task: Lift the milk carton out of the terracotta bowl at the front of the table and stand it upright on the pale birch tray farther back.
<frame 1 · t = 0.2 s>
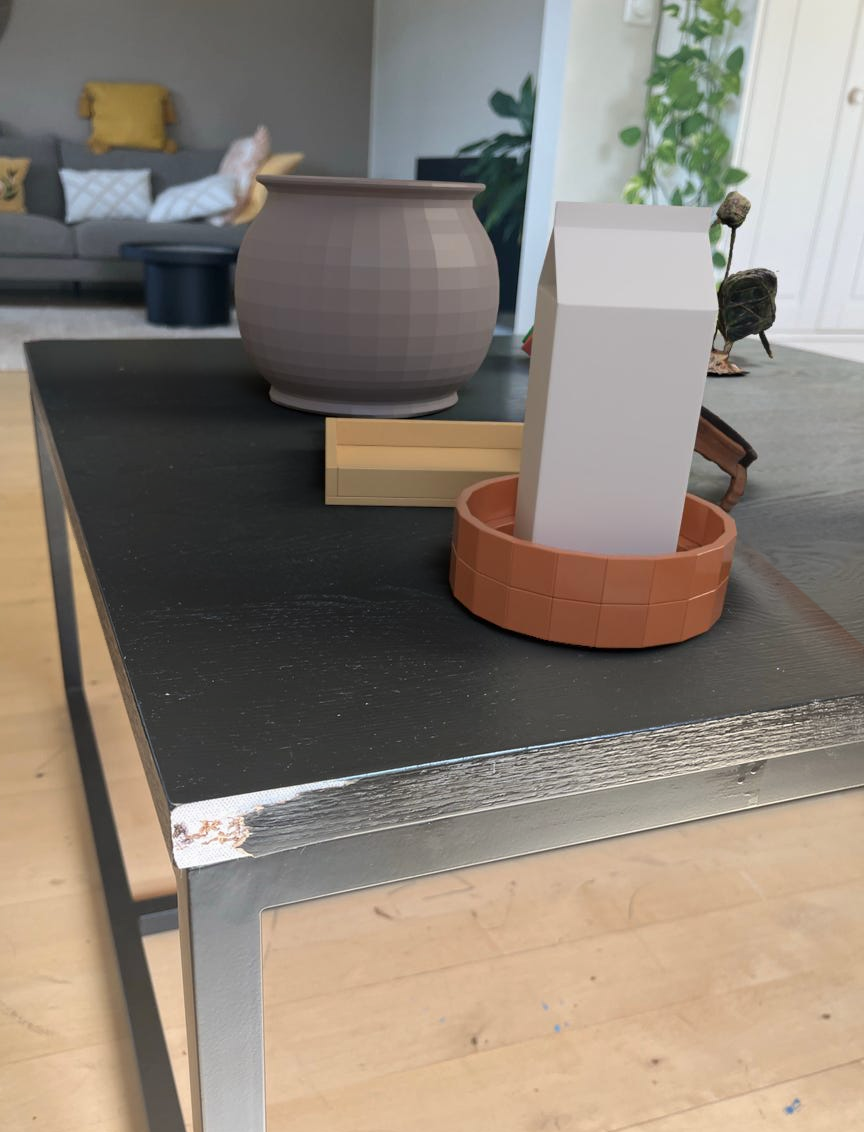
bowl: (581, 599, 53), on the table
brown curved piece: (660, 504, 70), on the table
building blocks: (565, 370, 118), on the table
camera: (605, 428, 91), on the table
milk carton: (582, 593, 53), resting on bowl
tray: (443, 477, 74), on the table
round clay pot: (363, 401, 98), on the table
plant with pod: (720, 374, 119), on the table
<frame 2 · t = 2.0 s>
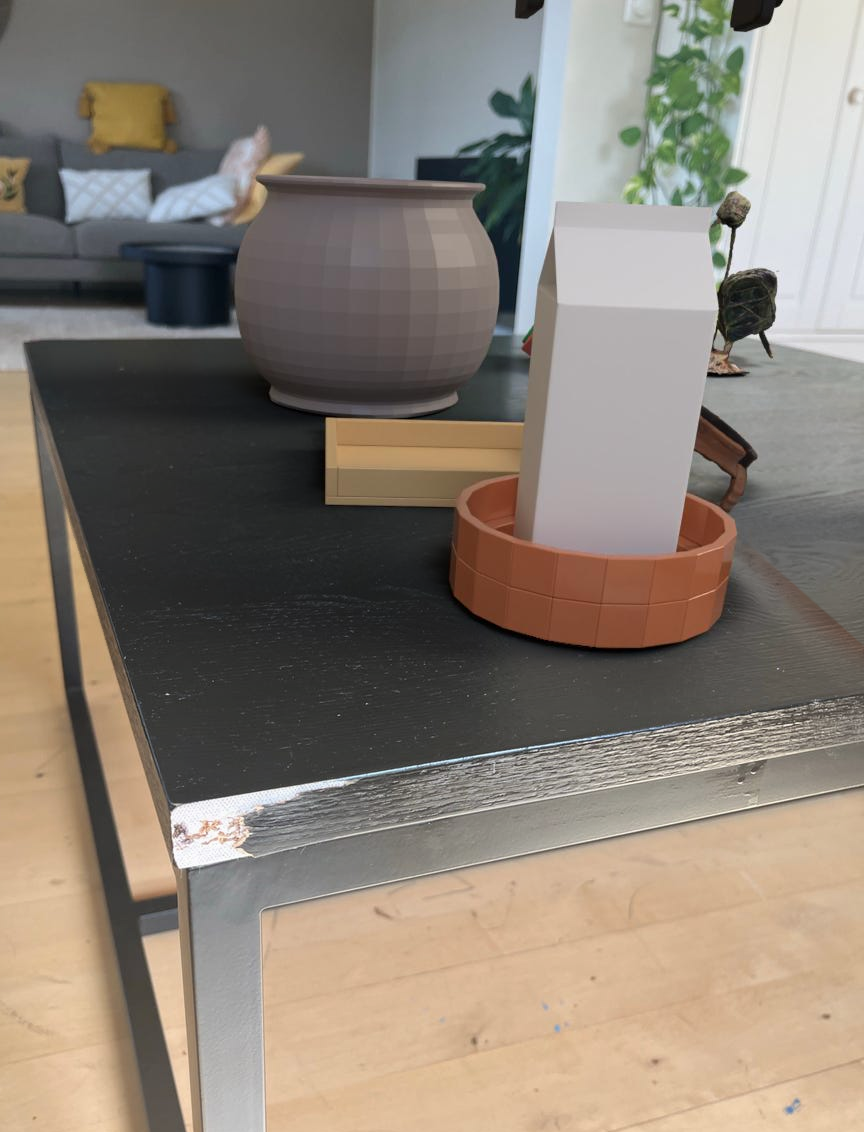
hand: (639, 21, 42), 27 cm above the table, tool pointing down, fingers open, 9 cm apart
nothing on the table moved.
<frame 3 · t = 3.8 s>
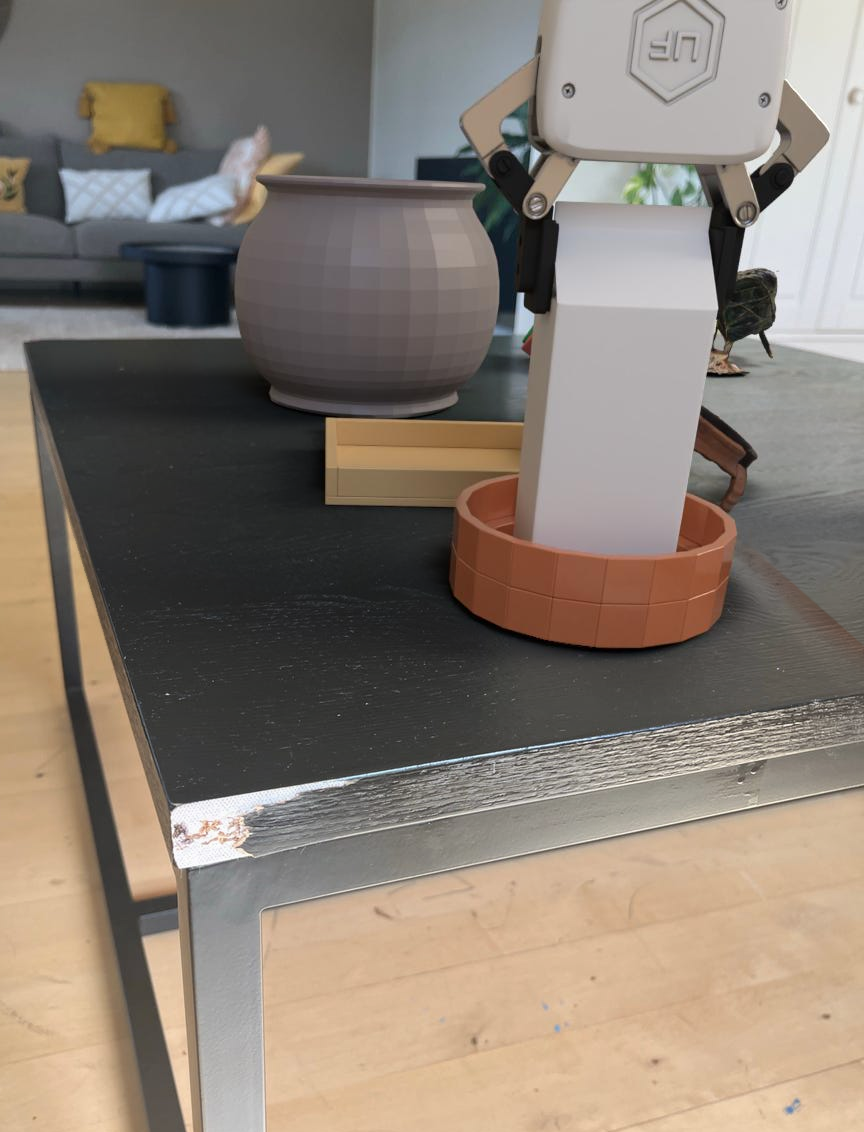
hand: (619, 310, 47), 15 cm above the table, tool pointing down, fingers closed on milk carton, 7 cm apart
milk carton: (582, 593, 53), resting on bowl, touching gripper
everything else where it was.
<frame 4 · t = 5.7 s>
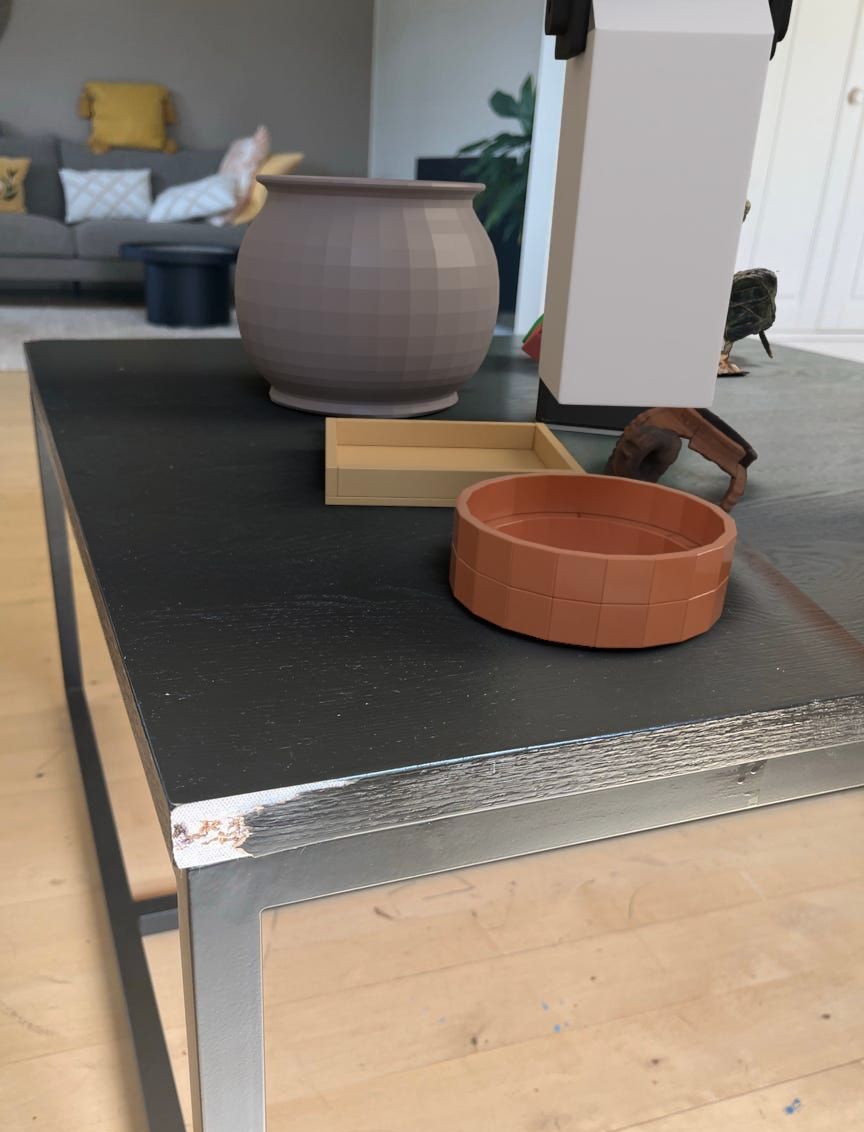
hand: (661, 56, 42), 25 cm above the table, tool pointing down, fingers closed on milk carton, 7 cm apart
milk carton: (618, 398, 49), point 11 cm above the table, touching gripper
everything else where it was.
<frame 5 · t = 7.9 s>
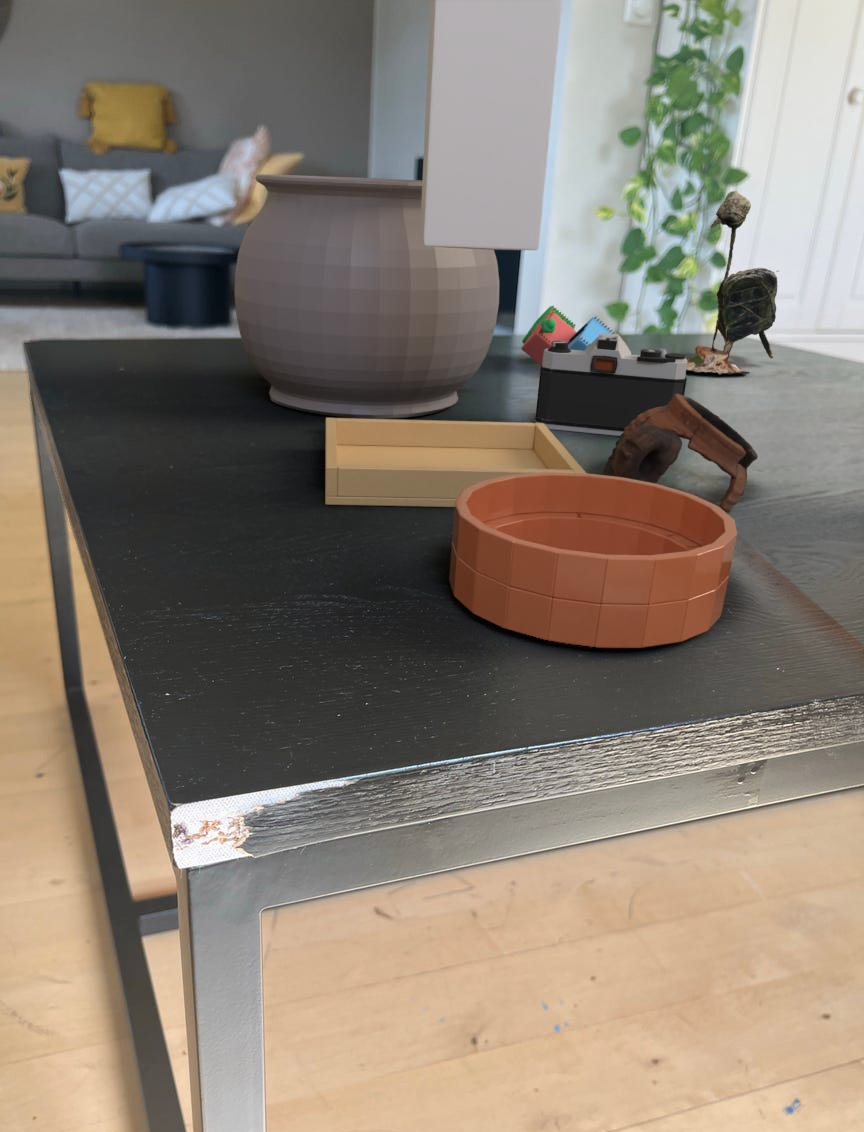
milk carton: (475, 251, 64), point 16 cm above the table, touching gripper
everything else where it was.
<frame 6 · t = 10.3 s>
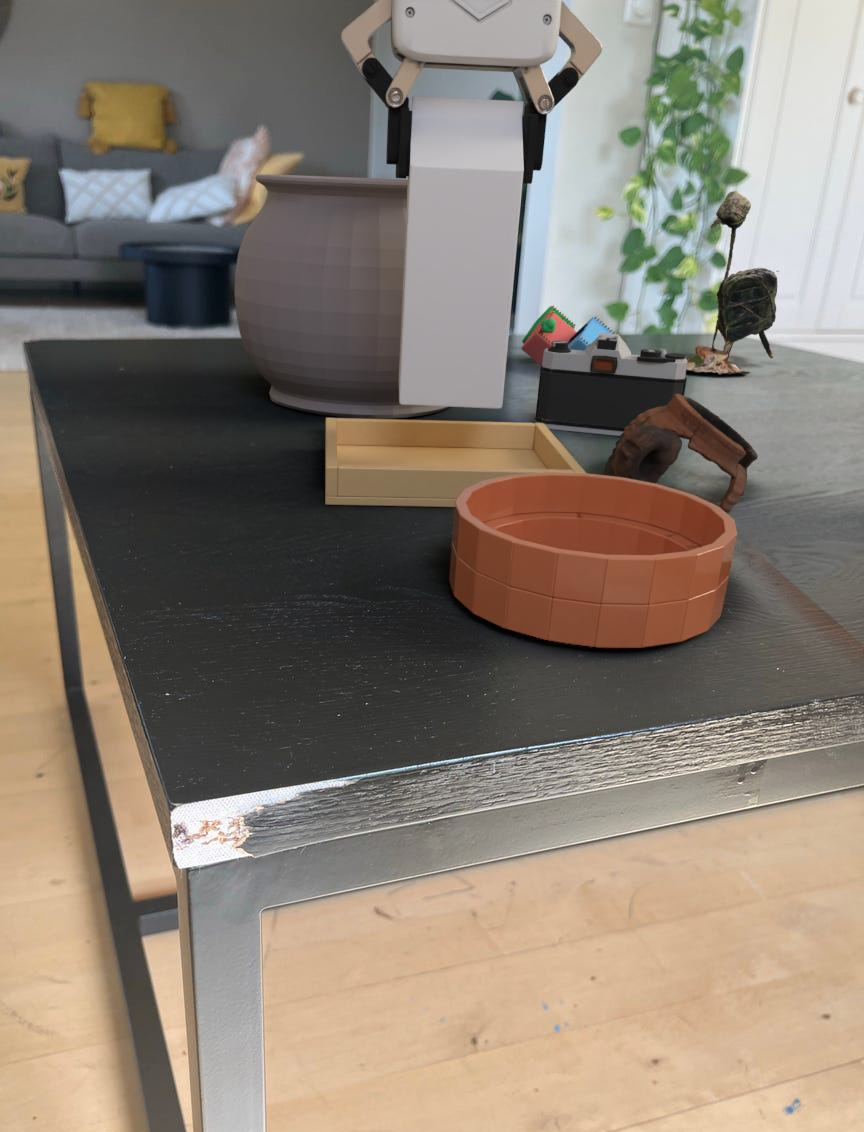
hand: (462, 178, 65), 20 cm above the table, tool pointing down, fingers closed on milk carton, 7 cm apart
milk carton: (447, 401, 71), point 6 cm above the table, touching gripper
everything else where it was.
when the fingers open (15 cm above the table, at t = 12.1 s): milk carton stays where it is, resting on tray.
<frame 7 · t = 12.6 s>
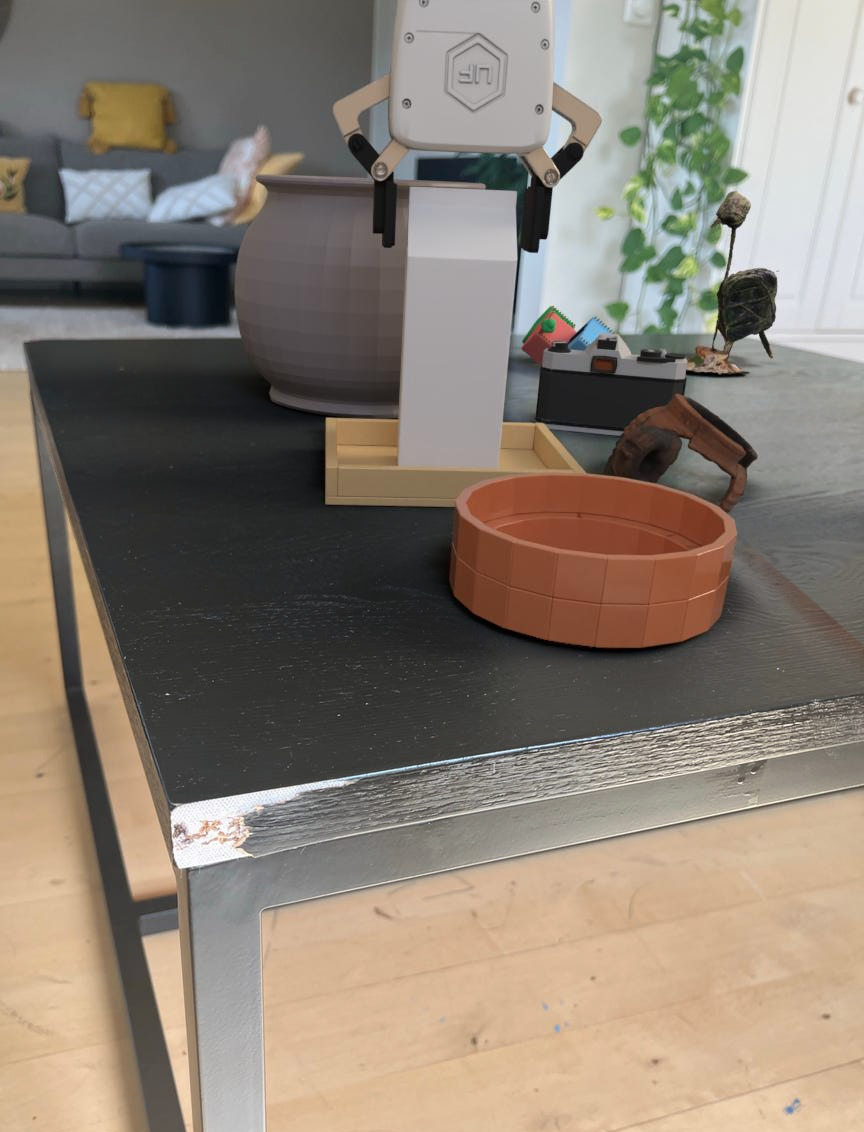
hand: (458, 248, 67), 16 cm above the table, tool pointing down, fingers open, 9 cm apart
milk carton: (444, 472, 73), resting on tray
everything else where it was.
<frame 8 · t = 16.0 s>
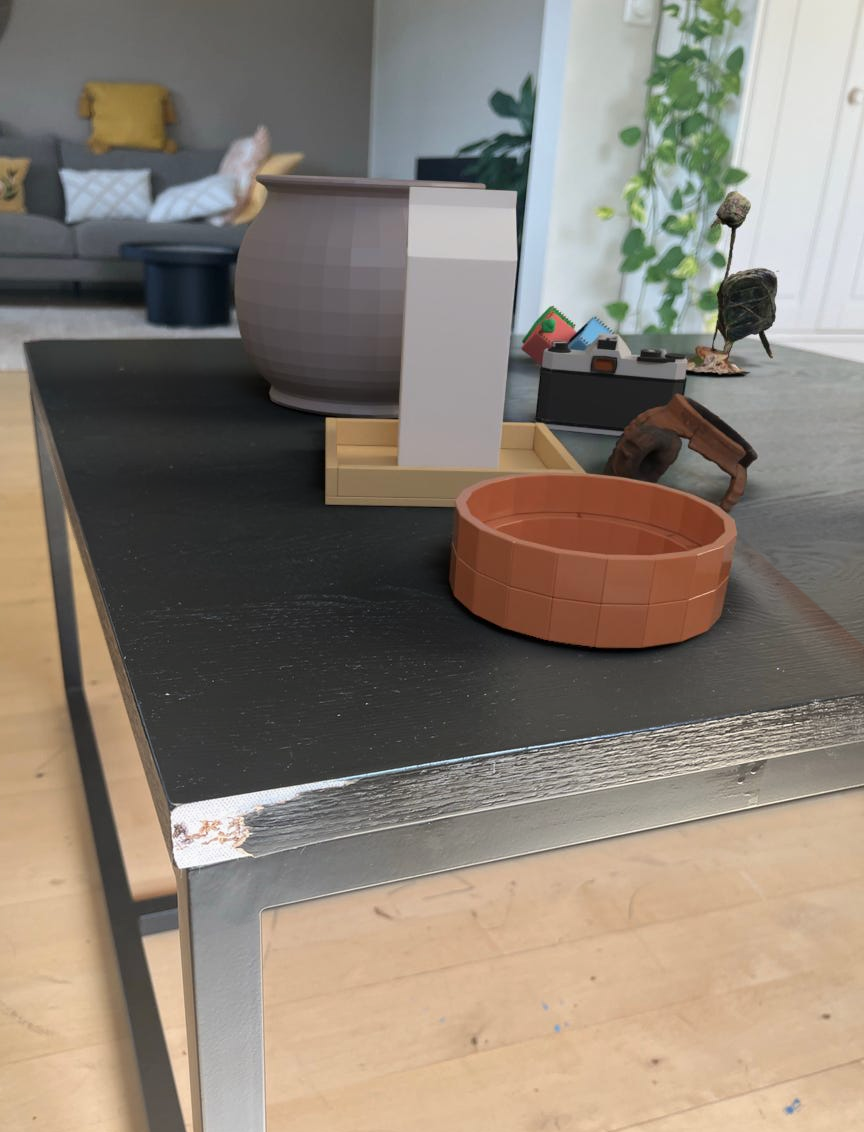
nothing on the table moved.
at the end: milk carton inside the target area in the tray (0.1 cm from its centre), point 0.4 cm above the tray's base; milk carton tilted 0°; the gripper is holding nothing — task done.
